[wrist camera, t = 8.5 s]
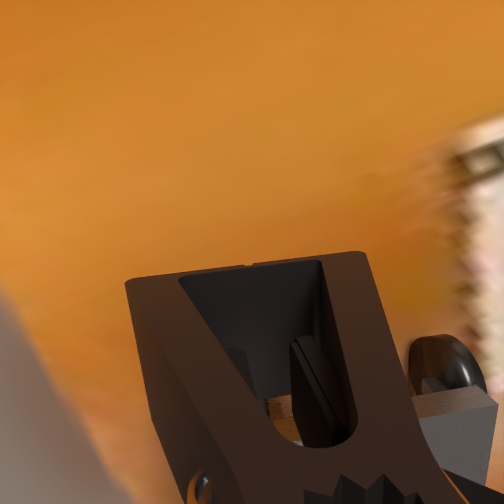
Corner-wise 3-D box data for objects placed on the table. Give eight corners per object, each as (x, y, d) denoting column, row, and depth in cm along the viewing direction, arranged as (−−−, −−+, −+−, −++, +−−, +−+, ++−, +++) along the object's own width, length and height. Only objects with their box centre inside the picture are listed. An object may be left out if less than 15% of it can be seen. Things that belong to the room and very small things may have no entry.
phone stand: (151, 411, 15) (28, 1249, 4) (126, 277, 13) (-281, 1150, 2) (357, 377, 16) (742, 938, 5) (361, 250, 14) (1006, 683, 3)
